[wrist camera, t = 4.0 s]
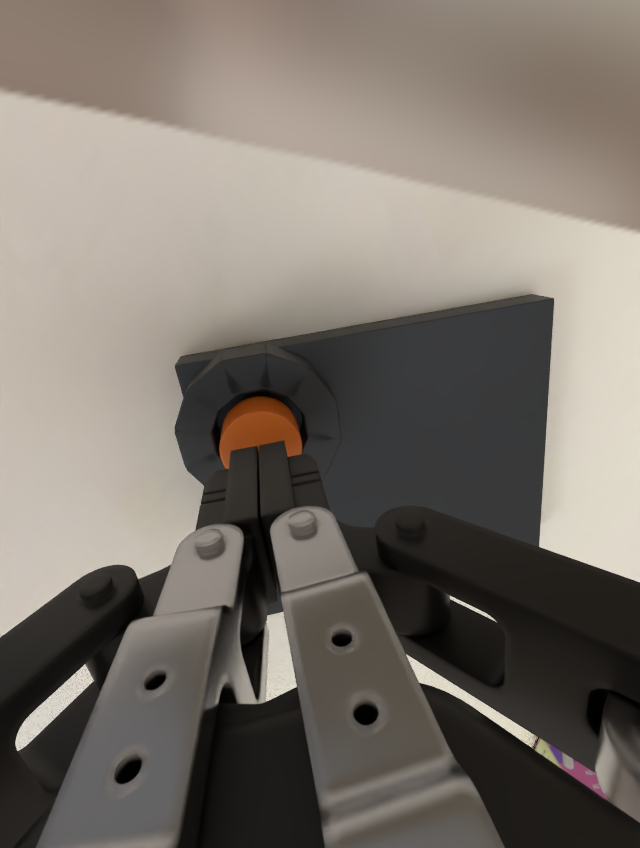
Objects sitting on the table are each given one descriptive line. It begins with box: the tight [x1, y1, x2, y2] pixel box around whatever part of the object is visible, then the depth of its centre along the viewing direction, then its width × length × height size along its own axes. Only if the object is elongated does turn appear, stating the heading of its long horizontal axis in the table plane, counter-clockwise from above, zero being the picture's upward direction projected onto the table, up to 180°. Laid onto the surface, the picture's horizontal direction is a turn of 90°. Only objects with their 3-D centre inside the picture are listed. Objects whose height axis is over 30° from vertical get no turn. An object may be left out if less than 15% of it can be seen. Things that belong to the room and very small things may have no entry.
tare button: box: [219, 396, 302, 469], centre depth 15 cm, size 3×3×2 cm
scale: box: [175, 294, 554, 615], centre depth 18 cm, size 14×12×3 cm
